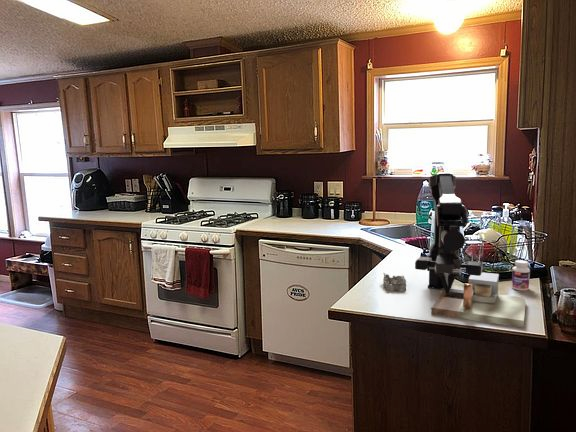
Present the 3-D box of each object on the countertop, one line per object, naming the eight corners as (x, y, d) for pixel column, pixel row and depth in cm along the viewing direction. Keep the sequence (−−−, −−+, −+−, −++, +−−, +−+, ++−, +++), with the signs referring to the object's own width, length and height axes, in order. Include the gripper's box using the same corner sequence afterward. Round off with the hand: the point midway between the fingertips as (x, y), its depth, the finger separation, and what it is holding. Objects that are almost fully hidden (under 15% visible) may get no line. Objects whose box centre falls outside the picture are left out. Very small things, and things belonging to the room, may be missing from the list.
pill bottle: (511, 290, 160) (513, 262, 159) (511, 285, 165) (512, 259, 164) (529, 291, 158) (530, 264, 157) (528, 287, 163) (529, 260, 161)
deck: (431, 313, 140) (431, 307, 140) (443, 293, 159) (443, 287, 158) (523, 327, 129) (523, 320, 128) (525, 303, 147) (525, 297, 147)
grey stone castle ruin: (382, 282, 173) (382, 272, 173) (402, 282, 172) (403, 272, 172) (385, 291, 163) (385, 280, 162) (407, 291, 162) (407, 280, 161)
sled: (462, 307, 138) (463, 285, 137) (469, 292, 151) (469, 271, 150) (492, 311, 134) (493, 288, 133) (496, 296, 147) (497, 274, 146)
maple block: (474, 300, 146) (474, 286, 145) (476, 295, 150) (476, 282, 149) (489, 302, 144) (490, 288, 143) (491, 297, 147) (491, 284, 147)
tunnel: (467, 300, 145) (468, 278, 144) (471, 292, 153) (472, 271, 152) (495, 304, 141) (496, 281, 140) (497, 295, 149) (498, 274, 148)
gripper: (411, 246, 135) (410, 297, 138) (479, 251, 127) (477, 306, 129) (419, 238, 145) (418, 286, 148) (483, 243, 136) (481, 294, 139)
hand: (447, 293), depth 141 cm, fingers closed
